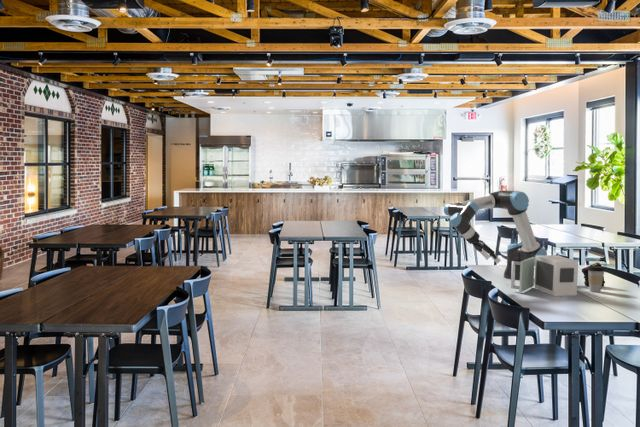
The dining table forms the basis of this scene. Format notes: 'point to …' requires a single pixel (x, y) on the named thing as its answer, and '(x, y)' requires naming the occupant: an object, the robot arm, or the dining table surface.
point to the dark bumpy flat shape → (588, 273)
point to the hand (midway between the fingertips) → (493, 260)
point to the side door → (524, 274)
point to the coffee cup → (595, 278)
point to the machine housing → (556, 275)
